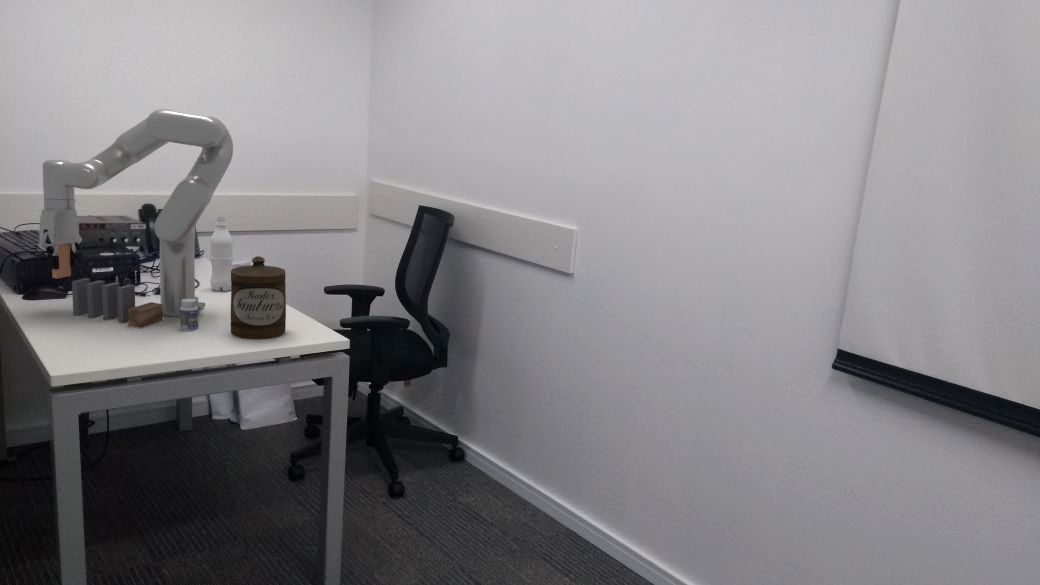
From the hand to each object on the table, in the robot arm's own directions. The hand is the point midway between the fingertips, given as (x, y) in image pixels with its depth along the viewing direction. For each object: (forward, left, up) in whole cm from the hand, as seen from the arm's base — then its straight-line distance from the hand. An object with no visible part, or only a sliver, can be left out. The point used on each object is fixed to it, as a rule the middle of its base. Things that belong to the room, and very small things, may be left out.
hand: (61, 266), depth 223 cm
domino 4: (-16, 0, -13) cm, 21 cm away
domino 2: (-6, 0, -13) cm, 15 cm away
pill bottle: (-41, -1, -13) cm, 43 cm away
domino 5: (-21, 0, -13) cm, 25 cm away
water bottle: (-21, -46, -13) cm, 52 cm away
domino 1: (0, 0, -3) cm, 3 cm away
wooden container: (-59, -7, -13) cm, 61 cm away
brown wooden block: (-28, 0, -13) cm, 31 cm away
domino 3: (-11, 0, -13) cm, 17 cm away
